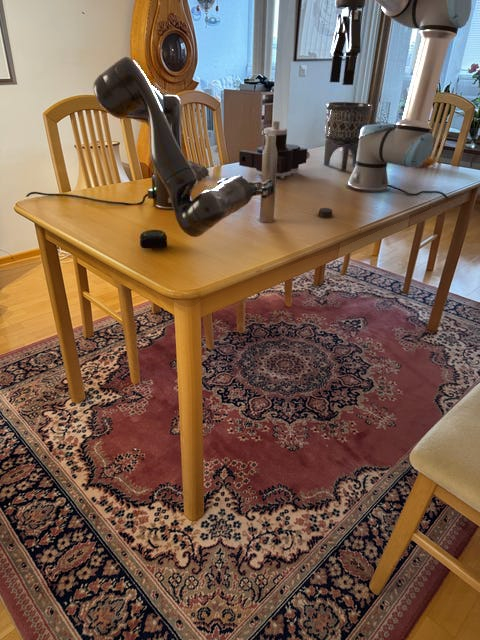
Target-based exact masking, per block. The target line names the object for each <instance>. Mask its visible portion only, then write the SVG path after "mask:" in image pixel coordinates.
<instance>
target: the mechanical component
mask: <svg viewBox="0 0 480 640" xmlns="http://www.w3.org/2000/svg"><path fill="white" fill-rule="evenodd" d="M266 135H276V148H277V171H276V177H279V178H280V179H285V176H291V175H292V173H298V171H299V167H300V165H303V164H304V165H305V164H307V160H309V158H310V156H311V154H310V152H309V151H308V148H304V147H301V146H299V145H297V144H290V143H287V138H288V129H287V128H286V127H280V121H279V120H272V126H271V127H265V128H264V129H263V145H262V146H258V147H257V148H256V151H250V150H245V149H241V150H239V153H238V154H239V155H238V157H239V159H238V166H240V167H245V168H250V169H255V173H256V174H257V175H261V176H262V156H263V150H264V147H265V142H266V137H265V136H266Z"/></svg>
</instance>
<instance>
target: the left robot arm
mask: <svg viewBox="0 0 480 640" xmlns="http://www.w3.org/2000/svg"><path fill="white" fill-rule="evenodd" d="M92 89H93V93H94V96H95V98H96V101H97V103H98V104H99V105H100V106H101V108H102V109H103V110H104V111H105V112H106V113H108V114H109V115H111V116H112V117H114V118H115V119H120V120H126V119H131V120H135V121H137V122H140V123H143V124H146V126H148V127H149V154H150V159H151V163H152V168H153V175H152V176H151V188H150V189H148V190H147V193H146V194H145V195H144V196H143V197H142V200H141V201H140V202H137V203H131V202H124V201H111V200H104V199H99V198H92V197H88V196H83V195H78V194H69V193H45V192H39V191H31V192H28V193H27V194H26V195H25V198H29V197H30V196H32V195H40V196H41V195H42V196H47V197H70V198H77V199H83V200H89V201H93V202H99V203H104V204H112V205H125V206H138V205H142V204H144V203H145V201H146V198H148V199H150V200H152V201H153V203H152V204H153V207H156V208H157V209H161V210H173V213H174V216H175V219H176V222H177V224H178V226H179V228H180V229H181V230H182V232H183V233H185V234H186V235H187V236H189V237H192V238H198V237H200V236H203V235H204V234H205V233H207V232H208V231H209V230H210V229H211V228H213V227H215V225H217V224H218V223H219V222H221V221H222V220H224V219H226V218H227V217H229V216H230V215H232V214H234V213H236V212H238V211H239V210H241V209H242V208H244V207H245V206H247V205H248V204H249V203H250V202H251V200H252V198H253V197H256V196H261V195H262V198H267V197H268V196H270V195H272V194H273V193H274V183H273V181H272V180H271V179H268V180H267V181H265V182H261V181H260V180H254V181H250V180H247V179H246V178H244V177H243V175H238V176H233V177H231V178H229V177H228V176H225V177H223V178H221V179H220V180H219V181H217V186H216V187H215V188H213V189H206V190H204V191H202V192H201V193H199V194H198V195H197V196H195V197H194V198H193V199H192V192H193V190H194V188H195V187H196V186H197V183H198V181H197V177H196V174H195V173H194V171H193V169H192V168H191V166H190V164H189V163H188V161H189V160H188V159H187V158H186V156H185V154H184V153H183V149H182V104H181V99H180V98H179V96H178V95H174V94H161V93H160V91H159V90H157V88H155V86H153V85H151V83H150V81H149V79H148V78H147V76H146V74H145V73H144V71H143V70H142V69H141V67H140V65H138V63H137V62H136V61H135V60H134V59H133V58H131V57H129V56H124V57H121V58H120V59H119V60H117V61H116V62H115V63H114V64H112V65H111V66H109V67H108V68H107V69H105V70H104V71H103V72H102V73H100V74H99V75H98V76H97V77H96V78H95V80H94V82H93V87H92ZM262 185H264V186H263V187H262Z"/></svg>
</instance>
